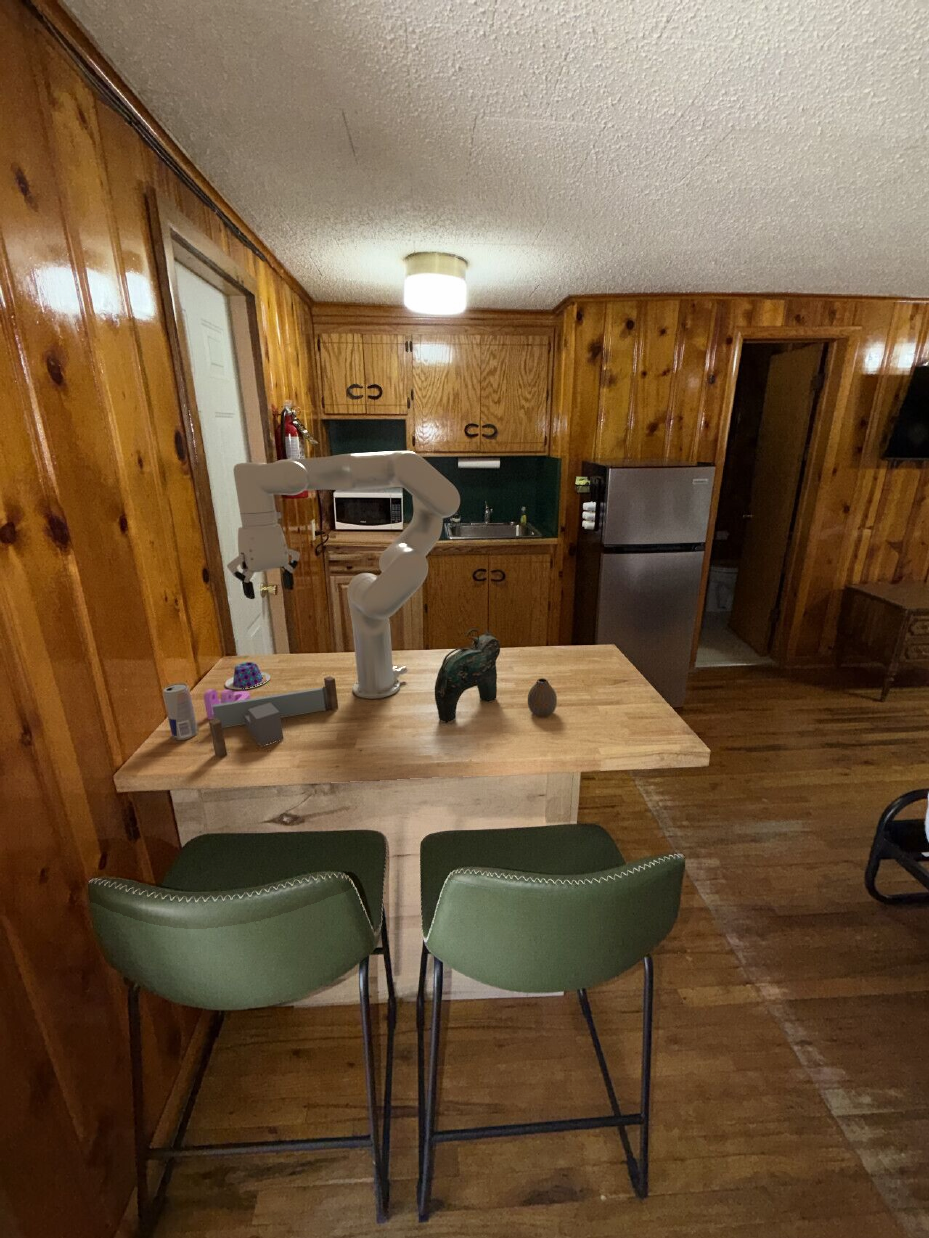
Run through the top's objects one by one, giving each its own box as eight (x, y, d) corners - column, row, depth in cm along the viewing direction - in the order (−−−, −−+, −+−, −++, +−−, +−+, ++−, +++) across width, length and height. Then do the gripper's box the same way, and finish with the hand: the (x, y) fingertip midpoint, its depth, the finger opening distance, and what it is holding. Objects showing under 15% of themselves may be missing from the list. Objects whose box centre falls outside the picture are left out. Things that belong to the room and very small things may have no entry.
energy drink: (178, 729, 127) (168, 683, 123) (201, 728, 127) (192, 681, 124) (168, 741, 122) (157, 693, 118) (192, 739, 122) (182, 692, 119)
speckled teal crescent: (488, 691, 142) (486, 619, 136) (506, 698, 137) (506, 624, 131) (431, 718, 129) (427, 640, 122) (450, 727, 124) (446, 646, 118)
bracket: (229, 719, 131) (224, 693, 129) (207, 719, 132) (202, 693, 130) (254, 695, 144) (250, 671, 142) (234, 695, 144) (229, 671, 142)
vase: (558, 709, 131) (559, 676, 129) (553, 722, 125) (554, 688, 122) (530, 705, 133) (531, 672, 131) (524, 718, 127) (524, 684, 125)
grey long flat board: (329, 707, 135) (326, 685, 133) (329, 709, 134) (327, 687, 132) (217, 726, 127) (212, 704, 126) (216, 729, 126) (212, 706, 124)
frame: (332, 704, 137) (329, 676, 134) (338, 707, 135) (335, 678, 133) (215, 754, 116) (208, 721, 114) (219, 758, 115) (213, 724, 112)
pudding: (254, 670, 161) (251, 654, 159) (279, 679, 154) (277, 662, 152) (216, 685, 151) (213, 668, 150) (242, 695, 145) (239, 677, 143)
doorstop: (267, 721, 130) (263, 695, 128) (283, 739, 121) (279, 711, 119) (246, 728, 127) (241, 701, 125) (261, 747, 119) (256, 719, 116)
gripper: (285, 514, 129) (295, 583, 134) (213, 523, 117) (226, 599, 122) (302, 516, 124) (311, 588, 129) (228, 526, 112) (242, 604, 117)
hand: (270, 593), depth 126 cm, fingers open, 9 cm apart
